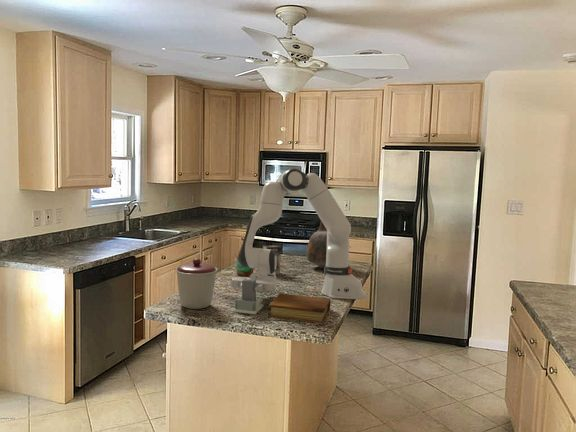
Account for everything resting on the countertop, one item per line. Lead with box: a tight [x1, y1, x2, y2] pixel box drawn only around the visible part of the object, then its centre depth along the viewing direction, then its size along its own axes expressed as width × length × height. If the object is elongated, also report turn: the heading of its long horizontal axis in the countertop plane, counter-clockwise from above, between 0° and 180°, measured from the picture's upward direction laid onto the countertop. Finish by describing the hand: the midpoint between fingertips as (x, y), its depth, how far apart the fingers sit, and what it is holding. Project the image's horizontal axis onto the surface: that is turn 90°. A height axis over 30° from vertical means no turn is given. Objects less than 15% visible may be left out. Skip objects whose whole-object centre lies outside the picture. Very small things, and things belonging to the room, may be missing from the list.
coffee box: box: [262, 244, 282, 275], centre depth 272 cm, size 9×6×16 cm
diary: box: [268, 292, 331, 324], centre depth 202 cm, size 23×19×6 cm
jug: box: [306, 220, 327, 270], centre depth 290 cm, size 24×21×30 cm
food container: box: [234, 256, 255, 277], centre depth 264 cm, size 12×6×10 cm, turn 68°
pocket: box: [232, 296, 264, 315], centre depth 204 cm, size 10×11×5 cm
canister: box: [175, 258, 219, 310], centre depth 205 cm, size 18×18×21 cm
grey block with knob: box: [241, 278, 257, 301], centre depth 204 cm, size 5×5×13 cm
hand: (248, 288), depth 203 cm, fingers open, 5 cm apart
